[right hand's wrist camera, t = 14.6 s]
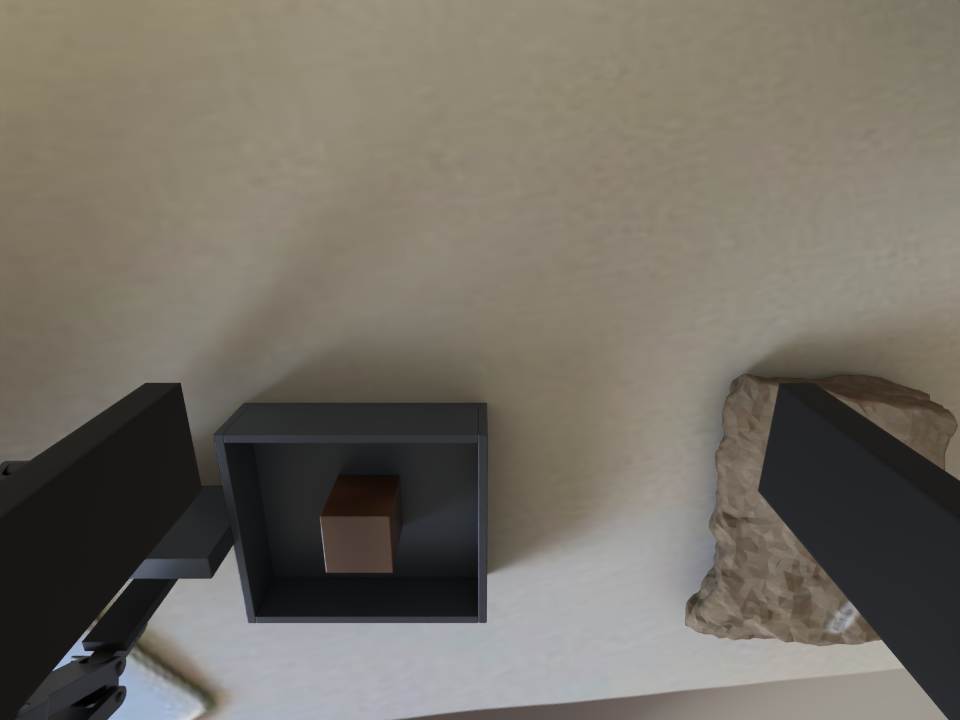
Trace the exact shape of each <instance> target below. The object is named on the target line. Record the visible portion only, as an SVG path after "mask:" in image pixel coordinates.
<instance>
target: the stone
mask: <svg viewBox="0 0 960 720" xmlns="http://www.w3.org/2000/svg"><path fill="white" fill-rule="evenodd" d="M779 383H815V384H817V385H818V386H820V387H821V388H823V389H824V390H826V391H827V392H829V393H830V394H831V395H833V396H834V397H836V398H837V399H839V400H840V401H842V402H843V403H845V404H846V405H848V406H849V407H851V408H852V409H854V410H855V411H857V412H858V413H860V414H861V415H863V416H864V417H866V418H867V419H869V420H870V421H872V422H873V423H875V424H876V425H878V426H879V427H880V428H882V429H883V430H885V431H886V432H888V433H889V434H891V435H892V436H894V437H895V438H897V439H898V440H900V441H901V442H903V443H904V444H906V445H907V446H909V447H910V448H912V449H913V450H915V451H916V452H918V453H919V454H921V455H922V456H924V457H925V458H927V459H928V460H929V461H931V462H932V463H934V464H935V465H937V466H938V467H940V468H941V469H943V470H945V452H946V449H947V446H948V443H949V440H950V438H951V437H952V436H953V435H954V433H955V431H956V429H957V427H958V426H957V423H956V420H955V417H954V416H953V415H952V413H951V412H950V411H949V410H947V409H944V408H943V406H941V405H939V404H937V403H934V402H932V401H930V396H929V394H926V393H924V392H922V391H920V390H914V389H911V388H908V387H905V386H902V385H898V384H895V383H893V382H890V381H887V380H885V379H883V378H879V377H870V376H854V375H848V376H836V377H832V378H828V379H822V380H810V379H790V378H776V377H775V378H768V379H766V378H763V377H755V376H752V375H750V374H748V375H741V376H740V377H738V378H736V379H735V380H734V381H732V383H731V386H730V394H729V395H728V397H727V398H726V401H725V405H724V408H723V422H722V425H723V428H724V432H725V435H724V437H723V439H722V441H721V443H720V447H719V449H718V450H717V452H716V453H715V459H716V468H717V471H718V490H717V492H716V507H715V509H714V512H713V514H712V516H711V518H710V522H709V528H710V530H711V531H712V533H713V535H714V536H715V538H716V539H717V541H718V542H717V544H716V546H715V548H716V553H715V555H714V564H715V565H714V567H713V568H712V569H711V570H710V571H708V573H707V576H706V577H705V578H704V580H703V581H702V583H701V590H700V591H699V592H697V593H696V594H694V595H692V596H691V598H690V599H689V600H688V601H687V603H686V617H685V625H686V626H688V627H690V628H692V629H694V630H695V631H697V632H699V633H703V634H712V635H714V636H716V637H718V638H725V637H727V638H729V639H732V640H738V639H752V638H762V639H767V638H777V639H779V640H782V641H784V642H793V641H795V642H799V643H804V644H812V645H817V646H828V645H833V644H850V645H856V644H863V643H865V642H871V641H875V640H882V639H881V638H880V637H879V636H878V635H877V633H876V632H875V631H874V630H873V629H872V627H871V626H870V625H869V624H868V623H867V621H866V620H865V619H864V618H863V617H862V615H861V614H860V613H859V612H858V611H857V609H856V608H855V607H854V606H853V605H852V603H851V602H850V601H849V600H848V599H847V597H846V596H845V595H844V594H843V593H842V591H841V590H840V589H839V588H838V587H837V585H836V584H835V583H834V582H833V581H832V579H831V578H830V577H829V576H828V575H827V573H826V572H825V571H824V570H823V569H822V567H821V566H820V565H819V564H818V563H817V561H816V560H815V559H814V558H813V557H812V555H811V554H810V553H809V552H808V551H807V549H806V548H805V547H804V546H803V545H802V543H801V542H800V541H799V540H798V539H797V537H796V536H795V535H794V534H793V533H792V531H791V530H790V529H789V528H788V527H787V525H786V524H785V523H784V522H783V521H782V519H781V518H780V517H779V516H778V515H777V513H776V512H775V511H774V510H773V509H772V507H771V506H770V505H769V504H768V503H767V501H766V500H765V499H764V498H763V497H762V495H761V494H760V493H759V492H758V487H759V482H760V477H761V472H762V467H763V462H764V457H765V452H766V447H767V442H768V437H769V432H770V427H771V422H772V417H773V412H774V407H775V402H776V397H777V392H778V387H779Z"/></svg>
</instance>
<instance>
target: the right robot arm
mask: <svg viewBox="0 0 960 720" xmlns="http://www.w3.org/2000/svg"><path fill="white" fill-rule="evenodd" d="M201 492H202V487H201V482H200V477H199V472H198V467H197V462H196V457H195V452H194V447H193V442H192V437H191V432H190V427H189V422H188V417H187V412H186V407H185V402H184V397H183V392H182V387H181V383H145V384H143V385H142V386H140V387H139V388H137V389H136V390H134V391H133V392H131V393H130V394H129V395H127V396H126V397H124V398H123V399H121V400H120V401H118V402H117V403H115V404H114V405H112V406H111V407H109V408H108V409H106V410H105V411H103V412H102V413H100V414H99V415H97V416H96V417H94V418H93V419H91V420H90V421H88V422H87V423H85V424H84V425H82V426H81V427H80V428H78V429H77V430H75V431H74V432H72V433H71V434H69V435H68V436H66V437H65V438H63V439H62V440H60V441H59V442H57V443H56V444H54V445H53V446H51V447H50V448H48V449H47V450H45V451H44V452H42V453H41V454H39V455H38V456H36V457H35V458H33V459H32V460H31V461H29V462H28V463H26V464H25V465H23V466H22V467H20V468H19V469H17V470H16V471H14V472H13V473H11V474H10V475H8V476H7V477H5V478H4V479H2V480H1V481H0V720H12V718H13V717H14V716H15V715H16V714H17V712H18V711H19V710H20V709H21V708H22V706H23V705H24V704H25V703H26V702H27V700H28V699H29V698H30V697H31V696H32V694H33V693H34V692H35V691H36V690H37V688H38V687H39V686H40V685H41V684H42V682H43V681H44V680H45V679H46V678H47V676H48V675H49V674H50V673H51V672H52V671H53V669H54V668H55V667H56V666H57V665H58V663H59V662H60V661H61V660H62V659H63V657H64V656H65V655H66V654H67V653H68V651H69V650H70V649H71V648H72V647H73V645H74V644H75V643H76V642H77V641H78V639H79V638H80V637H81V636H82V635H83V633H84V632H85V631H86V630H87V629H88V627H89V626H90V625H91V624H92V623H93V621H94V620H95V619H96V618H97V617H98V615H99V614H100V613H101V612H102V611H103V609H104V608H105V607H106V606H107V605H108V603H109V602H110V601H111V600H112V599H113V597H114V596H115V595H116V594H117V593H118V591H119V590H120V589H121V588H122V587H123V585H124V584H125V583H126V582H127V581H128V579H129V578H130V577H131V576H132V575H133V573H134V572H135V571H136V570H137V569H138V567H139V566H140V565H141V564H142V563H143V561H144V560H145V559H146V558H147V557H148V555H149V554H150V553H151V552H152V551H153V549H154V548H155V547H156V546H157V545H158V543H159V542H160V541H161V540H162V539H163V537H164V536H165V535H166V534H167V533H168V531H169V530H170V529H171V528H172V527H173V525H174V524H175V523H176V522H177V521H178V519H179V518H180V517H181V516H182V515H183V513H184V512H185V511H186V510H187V509H188V507H189V506H190V505H191V504H192V503H193V501H194V500H195V499H196V498H197V497H198V495H199V494H200V493H201ZM758 492H759V493H760V494H761V495H762V497H763V498H764V499H765V500H766V501H767V503H768V504H769V505H770V506H771V507H772V509H773V510H774V511H775V512H776V513H777V515H778V516H779V517H780V518H781V519H782V521H783V522H784V523H785V524H786V525H787V527H788V528H789V529H790V530H791V531H792V533H793V534H794V535H795V536H796V537H797V539H798V540H799V541H800V542H801V543H802V545H803V546H804V547H805V548H806V549H807V551H808V552H809V553H810V554H811V555H812V557H813V558H814V559H815V560H816V561H817V563H818V564H819V565H820V566H821V567H822V569H823V570H824V571H825V572H826V573H827V575H828V576H829V577H830V578H831V579H832V581H833V582H834V583H835V584H836V585H837V587H838V588H839V589H840V590H841V591H842V593H843V594H844V595H845V596H846V597H847V599H848V600H849V601H850V602H851V603H852V605H853V606H854V607H855V608H856V609H857V611H858V612H859V613H860V614H861V615H862V617H863V618H864V619H865V620H866V621H867V623H868V624H869V625H870V626H871V627H872V629H873V630H874V631H875V632H876V633H877V635H878V636H879V637H880V638H881V639H882V641H883V642H884V643H885V644H886V645H887V647H888V648H889V649H890V650H891V651H892V653H893V654H894V655H895V656H896V657H897V659H898V660H899V661H900V662H901V663H902V665H903V666H904V667H905V668H906V669H907V670H908V672H909V673H910V674H911V675H912V676H913V678H914V679H915V680H916V681H917V682H918V684H919V685H920V686H921V687H922V688H923V690H924V691H925V692H926V693H927V694H928V696H929V697H930V698H931V699H932V700H933V702H934V703H935V704H936V705H937V706H938V708H939V709H940V710H941V711H942V712H943V714H944V715H945V716H946V717H947V718H948V720H960V481H959V480H958V479H956V478H955V477H953V476H952V475H950V474H949V473H947V472H946V471H944V470H943V469H941V468H940V467H938V466H937V465H935V464H934V463H932V462H931V461H929V460H928V459H927V458H925V457H924V456H922V455H921V454H919V453H918V452H916V451H915V450H913V449H912V448H910V447H909V446H907V445H906V444H904V443H903V442H901V441H900V440H898V439H897V438H895V437H894V436H892V435H891V434H889V433H888V432H886V431H885V430H883V429H882V428H880V427H879V426H878V425H876V424H875V423H873V422H872V421H870V420H869V419H867V418H866V417H864V416H863V415H861V414H860V413H858V412H857V411H855V410H854V409H852V408H851V407H849V406H848V405H846V404H845V403H843V402H842V401H840V400H839V399H837V398H836V397H834V396H833V395H831V394H830V393H829V392H827V391H826V390H824V389H823V388H821V387H820V386H818V385H817V384H815V383H779V387H778V392H777V397H776V402H775V407H774V412H773V417H772V422H771V427H770V432H769V437H768V442H767V447H766V452H765V457H764V462H763V467H762V472H761V477H760V482H759V487H758Z"/></svg>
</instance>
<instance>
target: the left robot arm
mask: <svg viewBox="0 0 960 720" xmlns="http://www.w3.org/2000/svg"><path fill="white" fill-rule="evenodd" d="M28 462H29V461H5V462H3V463H2V464H0V481H1V480H2V479H4V478H5V477H7V476H8V475H10V474H11V473H13V472H14V471H16V470H17V469H19V468H20V467H22V466H23V465H25V464H26V463H28ZM177 580H178V579H133V580H132V582H131V583H130V584H129V585H128V587H127V588H126V589H125V590H124V591H123V593H122V594H121V595H120V596H119V597H118V599H117V600H116V601H115V602H114V604H113V605H112V606H111V607H110V608H109V610H108V611H107V612H106V613H105V614H104V616H103V617H102V618H101V619H100V621H99V622H98V623H97V624H96V625H95V627H94V628H93V629H92V630H91V632H90V633H89V634H88V635H87V636H86V638H85V639H84V640H83V641H82V644H83V647H84V650H85V651H94V652H93V654H92V655H91V656H72V658H74V659H75V661H71V663H69V664H67V665H64V666H62V667H60V668H58V669H56V670H54V671H52V672H51V673H50V674H49V675H48V676H47V678H46V679H45V680H44V681H43V682H42V684H41V685H40V686H39V687H38V688H37V690H36V691H35V692H34V693H33V694H32V696H31V697H30V698H29V699H28V700H27V702H26V703H25V704H24V705H23V706H22V708H21V709H20V710H19V711H18V712H17V714H16V715H15V716H14V717H13V718H12V720H108V718H109V717H110V716H111V715H112V714H113V713H114V712H115V711H116V710H117V709H118V708H119V707H120V706H121V705H122V703H123V702H124V699H125V697H126V687H125V686H119V676H120V675H122V673H123V671H124V669H125V666H126V657H127V655H128V654H129V653H130V651H131V650H132V648H133V647H134V646H135V643H137V641H138V640H139V638H140V637H141V636H142V634H143V633H144V631H145V629H146V626H147V622H148V621H149V619H150V618H151V617H152V615H153V614H154V612H155V611H156V610H157V608H158V607H159V605H160V604H161V603H162V601H163V600H164V598H165V597H166V596H167V594H168V593H169V591H170V590H171V589H172V587H173V586H174V584H175V583H176V582H177Z"/></svg>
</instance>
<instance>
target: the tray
mask: <svg viewBox="0 0 960 720" xmlns="http://www.w3.org/2000/svg"><path fill="white" fill-rule="evenodd" d="M213 436H214V441H215V447H216V452H217V458H218V463H219V468H220V474H221V479H222V485H223V486H201V487H202V492H201V493H200V494H199V495H198V497H197V498H196V499H195V500H194V501H193V503H192V504H191V505H190V506H189V507H188V509H187V510H186V511H185V512H184V513H183V515H182V516H181V517H180V518H179V519H178V521H177V522H176V523H175V524H174V525H173V527H172V528H171V529H170V530H169V531H168V533H167V534H166V535H165V536H164V537H163V539H162V540H161V541H160V542H159V543H158V545H157V546H156V547H155V548H154V549H153V551H152V552H151V553H150V554H149V555H148V557H147V558H146V559H145V560H144V561H143V563H142V564H141V565H140V566H139V567H138V569H137V570H136V571H135V572H134V573H133V575H132V576H131V577H130V578H129V579H211V578H212V577H213V576H214V574H215V573H216V571H217V569H218V568H219V566H220V565H221V563H222V562H223V560H224V558H225V557H226V555H227V554H228V552H229V551H230V549H231V547H232V546H233V544H234V550H235V555H236V560H237V566H238V571H239V577H240V582H241V587H242V593H243V598H244V604H245V609H246V614H247V620H248V623H478V622H479V623H486V622H487V464H488V430H487V403H243V405H242V406H241V407H240V408H239V409H238V410H237V411H236V412H235V413H234V414H233V415H232V416H231V417H230V418H229V419H228V420H227V421H226V422H225V423H224V424H223V425H222V426H221V427H220V428H219V429H218V431H217V432H216V433H215V434H214V435H213ZM338 475H400V487H401V505H402V523H403V527H402V532H401V537H400V542H399V546H398V551H397V556H396V561H395V565H394V570H393V573H327V572H326V566H325V557H324V549H323V540H322V532H321V523H320V515H321V513H322V511H323V508H324V506H325V504H326V502H327V499H328V497H329V495H330V493H331V490H332V488H333V486H334V484H335V481H336V479H337V477H338Z"/></svg>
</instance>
